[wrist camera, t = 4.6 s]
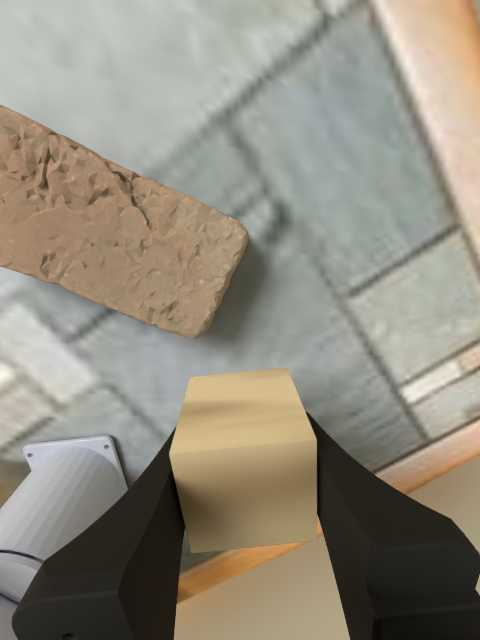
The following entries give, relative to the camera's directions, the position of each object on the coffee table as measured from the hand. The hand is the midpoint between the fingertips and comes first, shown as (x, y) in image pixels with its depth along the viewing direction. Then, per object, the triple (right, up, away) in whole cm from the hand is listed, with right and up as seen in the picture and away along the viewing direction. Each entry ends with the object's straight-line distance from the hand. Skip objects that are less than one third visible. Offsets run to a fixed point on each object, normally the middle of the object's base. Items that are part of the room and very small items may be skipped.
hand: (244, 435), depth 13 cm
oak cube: (0, 0, +2) cm, 2 cm away
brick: (-9, +12, +7) cm, 16 cm away
